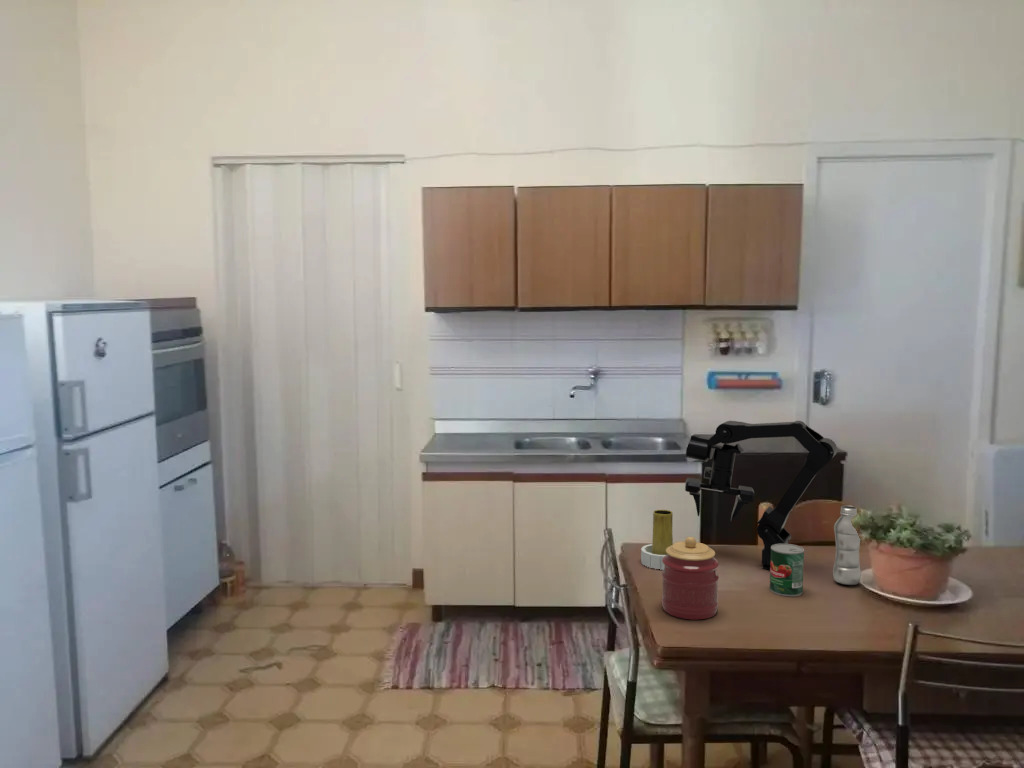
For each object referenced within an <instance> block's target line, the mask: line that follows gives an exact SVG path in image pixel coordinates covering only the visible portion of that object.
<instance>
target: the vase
mask: <svg viewBox="0 0 1024 768" xmlns="http://www.w3.org/2000/svg"><path fill="white" fill-rule="evenodd" d="M652 513H653V514H652V515H653V517H652V521H653V522H652V543H651V544H652V554H657V555H667V553H666V549H667V548H668V547H670V546H672V545H673V544H674V543H673V540H674V539H673V538H674V537H673V515H674V514H673V511H671V510H668V509H656V510H654V511H653V512H652Z"/></svg>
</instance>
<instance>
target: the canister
mask: <svg viewBox="0 0 1024 768" xmlns="http://www.w3.org/2000/svg"><path fill="white" fill-rule="evenodd" d="M666 553H667V555H666V556H664V557H663V559H662V562H663V564H664V570H662V572H661V576H662V596H661V604H662V609H663V610H664V612H665V613H667V614H668V615H671V616H673V617H676V618H679V619H684V620H692V621H693V620H696V621H697V620H705V619H706V620H707V619H710V618H712V617H714V616H715V615H716V614H717V612H718V608H719V600H718V591H719V590H718V589H719V588H718V587H719V586H718V583H719V582H718V581H719V578H720V577H719V575H718V573H717V568H718V567H719V565H720V563H719V561H718V560H717V559H716V558H715V555H716V551H715V550H714V549H712V548H711V547H709V545H707V544H705V543H701V542H700V541H699V542H698V541H697V540H696V538H695V537H693V536H687V537H686V538H685V539H684V541H677V542H674V543H673V545H672V546H670V547H668V548H667V549H666Z"/></svg>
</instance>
